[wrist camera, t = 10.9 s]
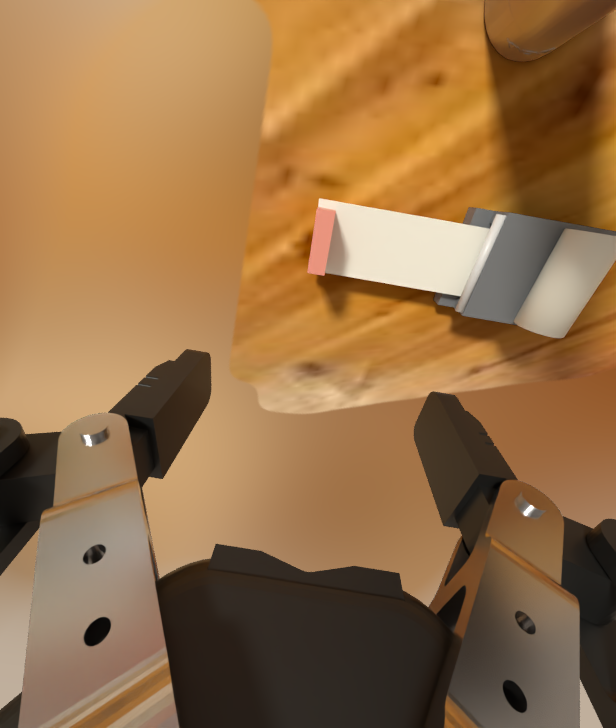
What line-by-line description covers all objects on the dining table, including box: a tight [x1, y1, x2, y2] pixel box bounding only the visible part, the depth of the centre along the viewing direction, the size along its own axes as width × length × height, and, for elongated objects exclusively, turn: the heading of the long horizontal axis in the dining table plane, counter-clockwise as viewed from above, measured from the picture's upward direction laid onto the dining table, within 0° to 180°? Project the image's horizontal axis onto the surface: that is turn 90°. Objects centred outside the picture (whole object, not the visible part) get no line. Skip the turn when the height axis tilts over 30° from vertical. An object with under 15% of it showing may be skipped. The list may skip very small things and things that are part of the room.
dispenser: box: [433, 207, 616, 338], centre depth 32 cm, size 11×14×9 cm
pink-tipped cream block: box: [307, 198, 490, 296], centre depth 31 cm, size 8×20×6 cm, turn 81°
